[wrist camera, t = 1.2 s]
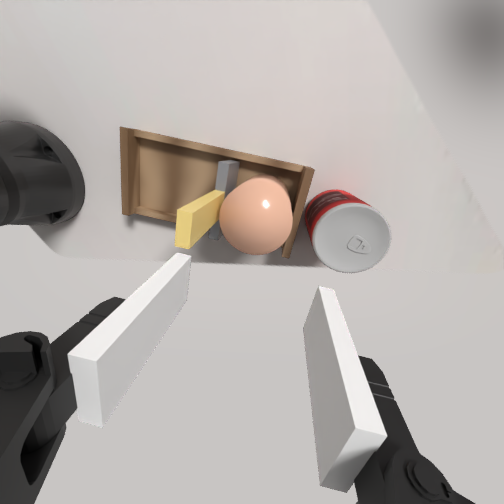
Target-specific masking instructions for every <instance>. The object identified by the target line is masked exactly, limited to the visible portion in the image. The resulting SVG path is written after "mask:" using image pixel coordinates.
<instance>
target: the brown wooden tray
mask: <svg viewBox="0 0 504 504" xmlns="http://www.w3.org/2000/svg"><path fill="white" fill-rule="evenodd" d="M120 154H121V192H122V214H123V215H128V216H129V215H132V214H134V213H135V214H140V215H144V216H148V217H153V218H157V219H161V220H166V221H170V222H174V223H176V219H177V209H179V208H181V207H183V206H185V205H187V204H189V203H191V202H193V201H194V200H196V199H198V198H200V197H202V196H204V195H206V194H208V193H210V192H212V191H213V190H215V186H216V179H217V171H218V163H219V161H227V160H234V161H239V162H240V165H239V171H238V177H237V183H236V188H237V187H238V186H239V185H241V184H242V183H243V182H245V181H246V180H248V179H249V178H251V177H252V176H255V175H258V174H270V175H273V176H276V177H277V178H279V179H280V180H281V181H282V182H283V183H284V184H285V185H286V187H287V189H288V191H289V195H290V201H291V209H292V217H293V223H292V229H291V232H290V234H289V236H288V238H287V240H286V241H285V242H284V243H283V244H282V245H281V246H280V247H282V257H285V258H289V257H290V254H291V250H292V247H293V243H294V240H295V236H296V233H297V229H298V226H299V222H300V219H301V216H302V212H303V209H304V205H305V202H306V198H307V195H308V191H309V188H310V184H311V181H312V178H313V174H314V171H315V170H314V169H313V168H311V167H307V166H302V165H298V164H293V163H289V162H284V161H279V160H275V159H270V158H266V157H261V156H256V155H252V154H247V153H243V152H238V151H233V150H229V149H224V148H220V147H215V146H210V145H206V144H201V143H197V142H192V141H187V140H183V139H178V138H174V137H169V136H164V135H160V134H155V133H151V132H146V131H141V130H137V129H131V128H125V127H120ZM209 231H210V229H209Z"/></svg>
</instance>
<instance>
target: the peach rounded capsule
mask: <svg viewBox="0 0 504 504" xmlns="http://www.w3.org/2000/svg"><path fill="white" fill-rule="evenodd" d="M219 222H220V227H221V230H222V233H223V235H224V237H225V238H226V240H227V241H228V242H229V243H230V244H231V245H232V246H233V247H234V248H236V249H237V250H239V251H241V252H244V253H247V254H251V255H263V254H267V253H270V252H272V251H274V250H276V249H278V248H279V247H280V246H281V245H282V244H283V243H284V242H285V241H286V240H287V238H288V236H289V234H290V232H291V229H292V223H293V217H292V209H291V201H290V195H289V191H288V189H287V187H286V185H285V184H284V183H283V182H282V181H281V180H280V179H279V178H277V177H276V176H273V175H270V174H258V175H255V176H252V177H251V178H249V179H248V180H246V181H245V182H243V183H242V184H241V185H239V186H238V187H237V188H235V189H234V190H233V191H231V192H230V193H229V194H228V195H227V197H226V198H225V199H224V201H223V203H222V206H221V209H220V214H219Z"/></svg>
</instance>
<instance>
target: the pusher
mask: <svg viewBox="0 0 504 504" xmlns="http://www.w3.org/2000/svg"><path fill="white" fill-rule="evenodd" d="M239 165H240V162H239V161H234V160H227V161H219V163H218V171H217V179H216V186H215V190H213V191H212V192H210V193H208V194H206V195H204V196H202V197H200V198H198V199H196V200H194V201H193V202H191V203H189V204H187V205H185V206H183V207H181V208H179V209H177V219H176V234H175V246H177V247H181V248H185V249H190V248H191V247H192V246H193V245H194V244H195V243H196V242H197V241H198V240H199V239H200V238H201V237H202V236H203V235H204V234H205V233H206V232H207V231H208V230H209V229H210V232H209V238H210V239H214V240H219V238H220V237H221V236H222V234H223V233H222V230H221V227H220V222H219V214H220V209H221V206H222V203H223V201H224V199H225V198H226V197H227V195H228V194H229V193H230V192H231V191H233V190H234V189H235V188H236V183H237V177H238V171H239Z"/></svg>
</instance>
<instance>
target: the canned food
mask: <svg viewBox="0 0 504 504" xmlns="http://www.w3.org/2000/svg"><path fill="white" fill-rule="evenodd" d="M305 222H306V226H307V229H308V233H309V236H310V240H311V243H312V246H313V249H314V251H315V254H316V255H317V256H318V258H319V259H320V261H321V262H322V263H323V264H324V265H326V266H327V267H329V268H330V269H333V270H335V271H338V272H342V273H357V272H361V271H365V270H367V269H369V268H371V267H373V266H375V265H376V264H377V263H379V262H380V261H381V260H382V259H383V258H384V256H385V255H386V253H387V252H388V249H389V247H390V243H391V230H390V226H389V224H388V222H387V220H386V219H385V218H384V216H383V215H382V214H381V213H380V212H379V211H377V210H376V209H374V208H373V207H372V206H370V205H368V204H367V203H365V202H363V201H362V200H360V199H358V198H357V197H355V196H353V195H352V194H350V193H348V192H345V191H342V190H328V191H325V192H322V193H320V194H319V195H317V196H316V197H315V198H313V199H312V200H311V202H310V203H309V205H308V207H307V209H306V213H305Z"/></svg>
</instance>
